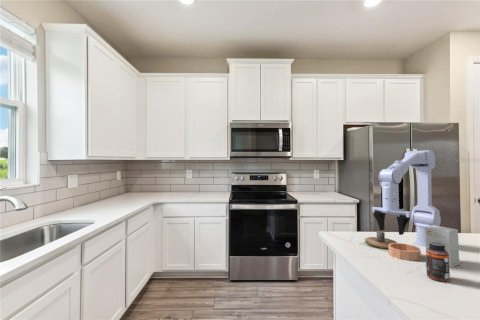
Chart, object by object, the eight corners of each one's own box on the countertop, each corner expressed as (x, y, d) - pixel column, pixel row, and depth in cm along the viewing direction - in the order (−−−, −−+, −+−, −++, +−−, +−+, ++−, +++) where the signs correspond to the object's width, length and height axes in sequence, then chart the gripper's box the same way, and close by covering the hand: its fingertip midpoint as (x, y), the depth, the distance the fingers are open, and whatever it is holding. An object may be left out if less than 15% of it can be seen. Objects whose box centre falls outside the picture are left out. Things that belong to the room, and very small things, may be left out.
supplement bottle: (454, 283, 77) (453, 247, 78) (432, 281, 79) (431, 245, 79) (442, 275, 83) (441, 241, 84) (422, 273, 84) (422, 240, 85)
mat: (375, 240, 122) (375, 239, 122) (403, 247, 111) (403, 246, 111) (359, 244, 116) (359, 243, 116) (387, 252, 105) (386, 251, 105)
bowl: (397, 250, 108) (397, 241, 108) (425, 258, 98) (425, 248, 98) (383, 255, 102) (382, 245, 102) (411, 264, 93) (411, 253, 93)
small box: (459, 264, 92) (458, 229, 92) (450, 267, 89) (449, 231, 89) (434, 257, 99) (433, 224, 99) (425, 260, 96) (424, 226, 96)
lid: (375, 239, 122) (375, 227, 123) (403, 246, 111) (403, 233, 111) (359, 243, 116) (358, 231, 116) (386, 251, 105) (386, 238, 105)
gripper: (367, 197, 104) (368, 229, 104) (404, 201, 92) (405, 238, 92) (377, 196, 108) (378, 227, 108) (414, 199, 95) (415, 235, 95)
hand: (391, 232), depth 100 cm, fingers open, 7 cm apart
